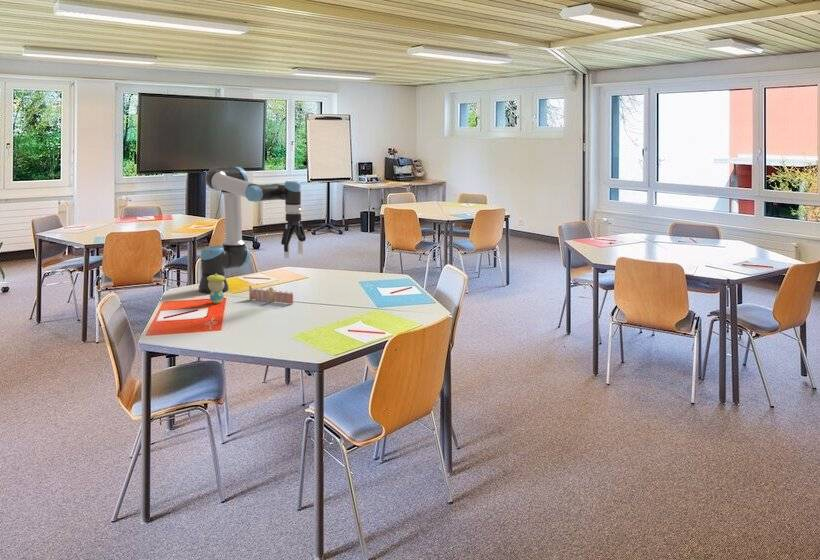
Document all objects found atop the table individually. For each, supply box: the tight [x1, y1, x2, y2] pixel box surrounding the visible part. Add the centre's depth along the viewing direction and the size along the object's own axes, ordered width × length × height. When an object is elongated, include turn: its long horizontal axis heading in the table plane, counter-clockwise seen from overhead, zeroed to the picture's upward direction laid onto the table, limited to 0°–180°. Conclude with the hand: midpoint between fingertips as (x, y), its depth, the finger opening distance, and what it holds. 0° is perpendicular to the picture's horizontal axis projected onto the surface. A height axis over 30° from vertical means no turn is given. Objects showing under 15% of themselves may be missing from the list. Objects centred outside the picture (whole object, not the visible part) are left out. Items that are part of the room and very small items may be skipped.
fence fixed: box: [248, 285, 275, 303], centre depth 332 cm, size 14×2×8 cm, turn 70°
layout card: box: [242, 299, 290, 310], centre depth 327 cm, size 20×14×1 cm
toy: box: [207, 274, 226, 305], centre depth 325 cm, size 8×9×15 cm
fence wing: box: [274, 289, 294, 305], centre depth 327 cm, size 10×1×6 cm, turn 70°
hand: (294, 256), depth 329 cm, fingers open, 13 cm apart
